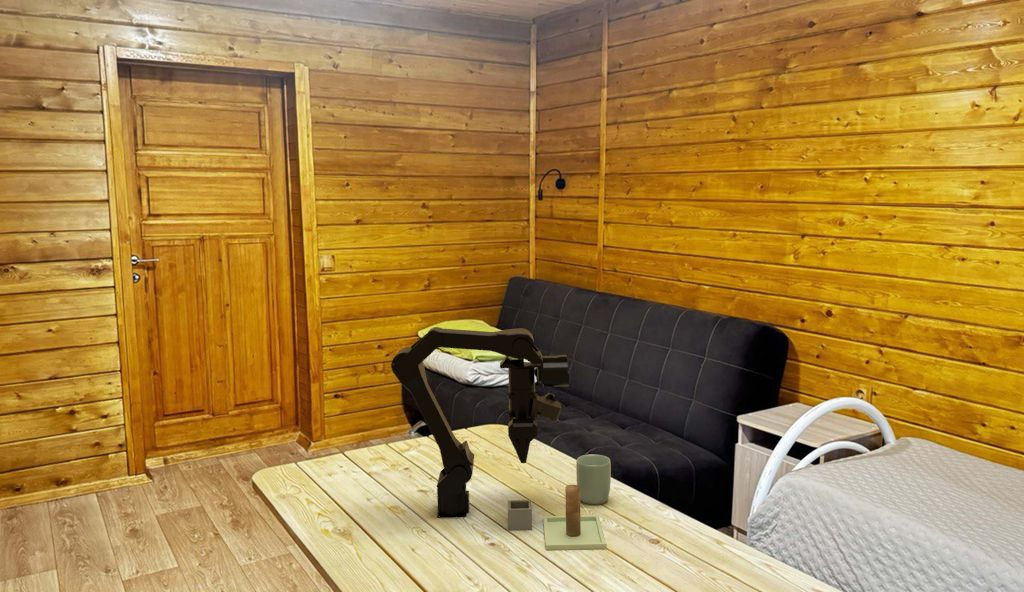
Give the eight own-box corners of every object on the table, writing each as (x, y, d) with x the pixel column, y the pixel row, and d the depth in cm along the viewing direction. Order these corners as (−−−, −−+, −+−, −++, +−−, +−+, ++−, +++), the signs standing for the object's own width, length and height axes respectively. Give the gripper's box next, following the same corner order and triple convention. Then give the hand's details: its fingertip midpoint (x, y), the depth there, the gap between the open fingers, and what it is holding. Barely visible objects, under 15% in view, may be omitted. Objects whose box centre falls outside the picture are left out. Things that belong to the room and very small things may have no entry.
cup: (609, 509, 176) (609, 466, 175) (574, 507, 178) (574, 464, 176) (612, 496, 184) (611, 455, 182) (578, 494, 185) (578, 453, 184)
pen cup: (508, 532, 165) (507, 509, 165) (508, 522, 170) (508, 500, 170) (532, 532, 165) (531, 509, 165) (531, 522, 170) (531, 500, 170)
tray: (545, 552, 156) (545, 545, 156) (543, 522, 170) (543, 516, 170) (606, 551, 156) (606, 544, 156) (598, 521, 170) (598, 515, 170)
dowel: (566, 537, 161) (565, 490, 160) (565, 530, 164) (564, 484, 163) (581, 536, 161) (580, 489, 160) (580, 530, 164) (579, 484, 163)
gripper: (561, 397, 163) (562, 470, 165) (556, 376, 181) (557, 441, 183) (507, 398, 163) (509, 471, 165) (507, 377, 181) (509, 442, 183)
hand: (523, 455), depth 174 cm, fingers open, 9 cm apart
